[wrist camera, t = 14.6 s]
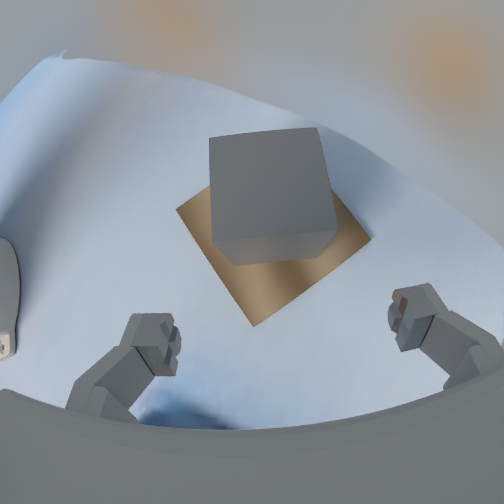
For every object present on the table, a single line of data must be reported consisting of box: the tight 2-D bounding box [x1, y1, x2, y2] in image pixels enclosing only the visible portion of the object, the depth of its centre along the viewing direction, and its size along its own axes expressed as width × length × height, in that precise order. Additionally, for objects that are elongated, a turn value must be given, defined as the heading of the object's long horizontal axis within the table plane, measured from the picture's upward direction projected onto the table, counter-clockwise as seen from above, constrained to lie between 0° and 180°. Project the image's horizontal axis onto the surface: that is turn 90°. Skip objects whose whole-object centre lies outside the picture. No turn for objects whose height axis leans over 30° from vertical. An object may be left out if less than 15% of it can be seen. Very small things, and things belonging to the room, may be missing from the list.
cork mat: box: [176, 186, 371, 327], centre depth 23 cm, size 12×12×1 cm
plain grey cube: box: [209, 128, 338, 266], centre depth 19 cm, size 7×7×8 cm
